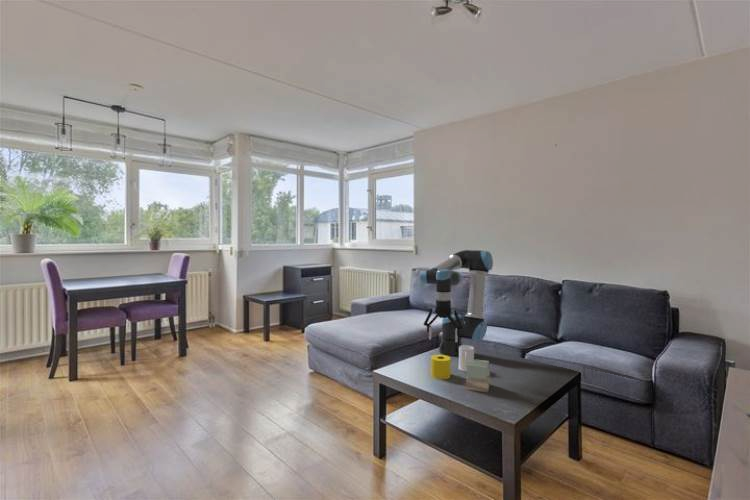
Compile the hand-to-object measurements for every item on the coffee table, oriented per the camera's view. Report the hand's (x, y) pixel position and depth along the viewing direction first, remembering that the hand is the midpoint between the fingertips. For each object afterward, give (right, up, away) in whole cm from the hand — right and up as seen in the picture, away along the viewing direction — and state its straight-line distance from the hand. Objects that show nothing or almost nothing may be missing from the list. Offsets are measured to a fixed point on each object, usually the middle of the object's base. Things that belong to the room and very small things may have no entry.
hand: (443, 340), depth 192 cm
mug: (+14, -19, +10) cm, 25 cm away
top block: (+15, -14, -12) cm, 24 cm away
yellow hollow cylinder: (-1, -19, +2) cm, 19 cm away
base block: (+15, -20, -12) cm, 27 cm away
